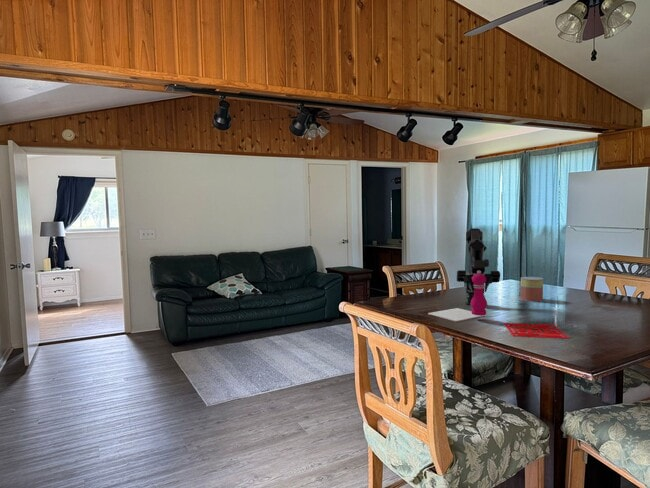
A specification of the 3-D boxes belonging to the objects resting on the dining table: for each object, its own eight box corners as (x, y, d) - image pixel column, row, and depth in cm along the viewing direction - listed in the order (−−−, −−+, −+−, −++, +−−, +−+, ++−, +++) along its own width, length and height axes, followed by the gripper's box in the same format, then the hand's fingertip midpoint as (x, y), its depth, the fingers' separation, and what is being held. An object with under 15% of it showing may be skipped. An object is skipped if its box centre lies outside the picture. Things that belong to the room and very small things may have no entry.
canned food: (544, 298, 239) (544, 277, 239) (541, 302, 230) (542, 280, 229) (521, 297, 245) (522, 276, 245) (518, 300, 236) (519, 278, 235)
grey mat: (457, 308, 219) (457, 308, 219) (486, 315, 203) (486, 314, 203) (427, 314, 209) (427, 313, 209) (456, 321, 193) (456, 320, 193)
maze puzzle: (554, 326, 184) (554, 324, 184) (569, 339, 165) (569, 338, 165) (504, 324, 189) (504, 323, 188) (513, 337, 169) (513, 335, 169)
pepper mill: (486, 312, 198) (487, 269, 197) (487, 316, 191) (487, 271, 190) (470, 311, 201) (470, 269, 199) (470, 315, 194) (470, 271, 192)
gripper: (457, 253, 200) (458, 280, 190) (500, 253, 195) (503, 281, 186) (456, 267, 208) (457, 294, 198) (497, 268, 204) (500, 295, 194)
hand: (479, 291), depth 194 cm, fingers closed on pepper mill, 5 cm apart
